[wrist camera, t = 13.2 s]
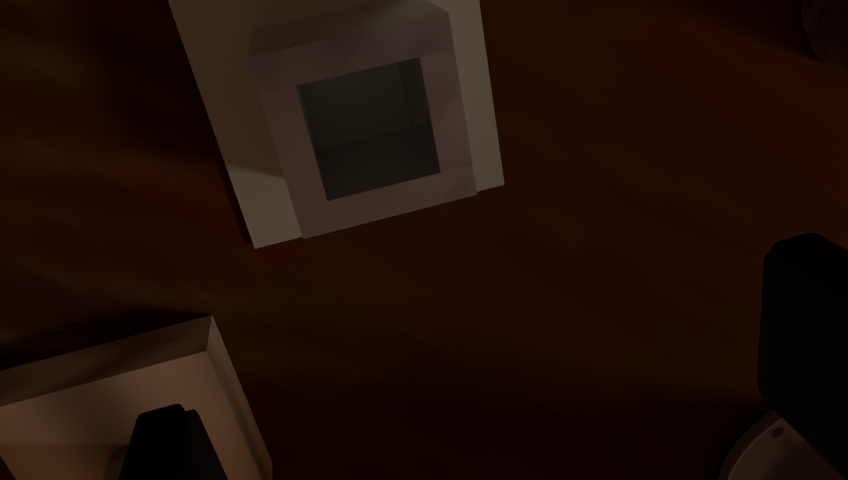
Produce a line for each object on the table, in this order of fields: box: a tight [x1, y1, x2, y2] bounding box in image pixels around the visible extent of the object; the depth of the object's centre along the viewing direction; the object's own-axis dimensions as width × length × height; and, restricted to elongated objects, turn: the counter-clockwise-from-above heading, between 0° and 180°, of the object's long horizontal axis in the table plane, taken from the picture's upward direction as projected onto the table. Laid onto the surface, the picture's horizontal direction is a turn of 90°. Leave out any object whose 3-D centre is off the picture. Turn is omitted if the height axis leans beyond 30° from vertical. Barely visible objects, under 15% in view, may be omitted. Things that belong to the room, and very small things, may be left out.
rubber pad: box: [168, 0, 504, 249], centre depth 28 cm, size 12×12×1 cm
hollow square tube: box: [248, 0, 477, 239], centre depth 25 cm, size 7×7×6 cm
